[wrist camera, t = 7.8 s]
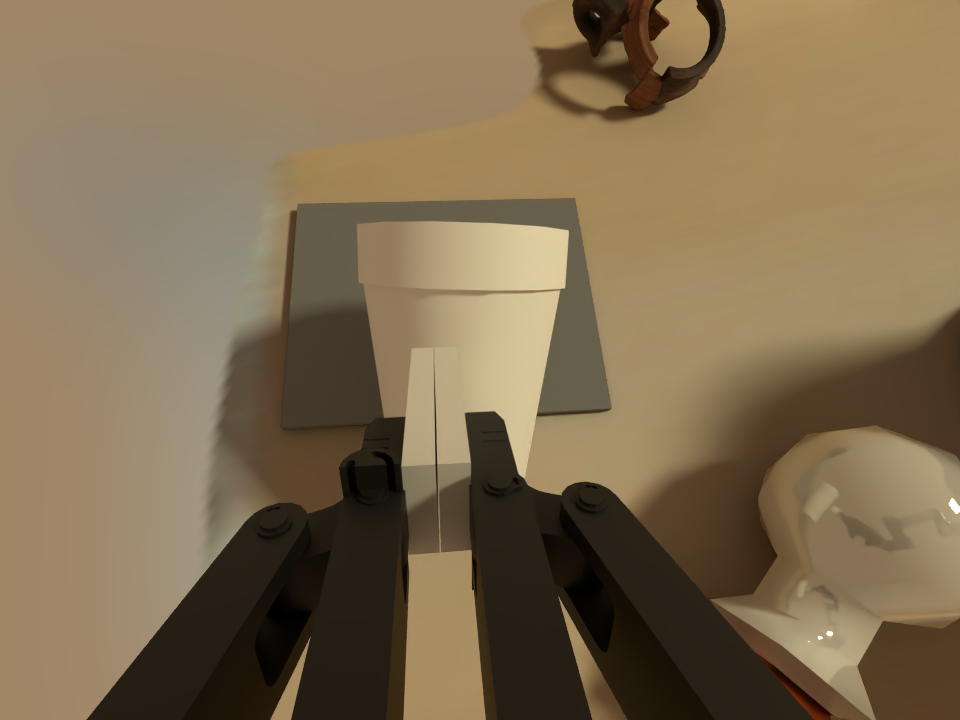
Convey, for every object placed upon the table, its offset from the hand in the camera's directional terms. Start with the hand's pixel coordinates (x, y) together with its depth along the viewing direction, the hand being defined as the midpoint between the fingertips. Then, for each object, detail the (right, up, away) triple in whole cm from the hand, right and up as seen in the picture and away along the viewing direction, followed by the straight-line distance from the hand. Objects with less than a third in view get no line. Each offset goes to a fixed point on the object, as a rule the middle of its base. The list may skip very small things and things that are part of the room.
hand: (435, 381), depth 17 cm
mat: (-1, +5, +14) cm, 15 cm away
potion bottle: (+19, -11, +10) cm, 24 cm away
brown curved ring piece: (+15, +26, +24) cm, 38 cm away
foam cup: (+1, -6, +7) cm, 9 cm away
